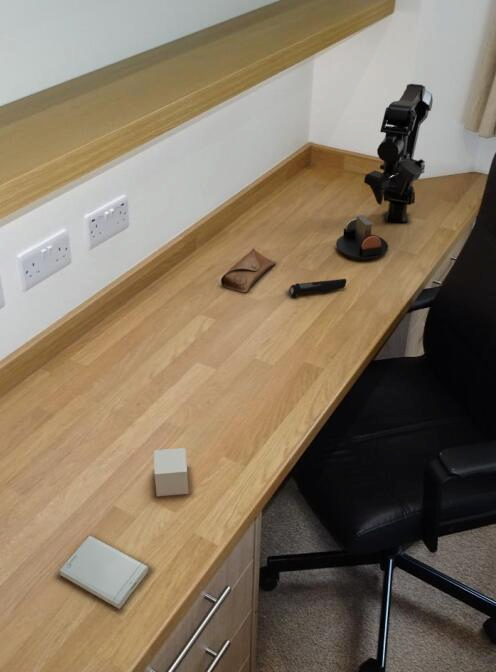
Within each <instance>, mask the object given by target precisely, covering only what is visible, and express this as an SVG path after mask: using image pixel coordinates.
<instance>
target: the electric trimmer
mask: <svg viewBox="0 0 496 672" xmlns="http://www.w3.org/2000/svg"><path fill="white" fill-rule="evenodd" d="M346 284H347V279H346V278H340V279H330V280H322V281H321V280H320V281H312V282H310V281H309V282H302V283H298V282H297V283H295V284H291V286H289V289H288V294H289V295H290V297H291V298H297V296H299V295H306V294H312V293H313V294H314V293H323V294H325V293H328V292H333V291H336V290H341V289H344V288H345V287H346V286H347V285H346Z"/></svg>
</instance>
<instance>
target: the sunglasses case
mask: <svg viewBox="0 0 496 672" xmlns="http://www.w3.org/2000/svg"><path fill="white" fill-rule="evenodd" d="M275 265H276V262H273V261H272V260H270V259H269V258H268V257H266V256H265V255H263V254H261V253H260V252H259V251H257V250H256V249H255V247H254V248H251V250H250V251H249V252H248V253H247V254H245V255H244V256H243V257H242V258H240V260H238V261H237V262H236V263H235V264H234V265H233V266H232V267H230V269H229V270H228V271H226V272H225V274H223V275H222V277H221V279H220V283H221V285H222V286H223V287H224V288H226V289H229V290H231V291H235V292H241V293H247V292H249V291H250V289H251V288H252V287H253V285H254V284H256V282H257V281H259V280H260V279H261V278H262V277H263V276H264V275H265V274H266V273H267V272H268V271H269V270H271V269H272V268H273V267H274V266H275Z"/></svg>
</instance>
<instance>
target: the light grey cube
mask: <svg viewBox="0 0 496 672" xmlns="http://www.w3.org/2000/svg"><path fill="white" fill-rule="evenodd" d="M153 462H154V464H153V465H154V467H153V469H154V482H155V491H156V492H155V493H156V497H165V496H179V495H189V479H188V466H187V451H186V447H180V448H167V449H155V450H153Z"/></svg>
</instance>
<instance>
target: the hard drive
mask: <svg viewBox="0 0 496 672" xmlns="http://www.w3.org/2000/svg"><path fill="white" fill-rule="evenodd" d="M148 572H149V566H148V565H146V564H144V563H142V562H141V561H139V560H137V559H134V558H133V557H131V556H130V555H127V554H125V553H124V552H122V551H121V550H118V549H117V548H115V547H113V546H111V545H109V544H107V543H105V542H103V541H101V540H100V539H98V538H96V537H94V536H92V535H89V536H88V537H87V538H86V539H85V540H84V541H83V542H82V544H81V545H80V546H79V547H78V548H76V550H75V551H74V552H73V554H72V555H71V556H70V557H69V558H68V559H67V560H66V562H65V563H64V564H63V565H62V566H61V568H60V569H59V575H60V576H62V577H63V578H65V579H67V580H69V581H70V582H72V583H73V584H74V585H77V586H78V587H80V588H81V589H84V590H85V591H87V592H89V593H90V594H93V595H94V596H96V597H98V598H99V599H101V600H103V601H104V602H107V603H108V604H110V605H112V606H113V607H115V608H117V609H118V610H119V609H121V608H122V607H123V606H124V604H125V603H126V601H128V598H129V597H130V596H131V595H132V594H133V592H134V591H135V589H136V588H137V587H138V586H139V584H140V583H141V581H142V580H143V579H144V577H146V575H147V573H148Z"/></svg>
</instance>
